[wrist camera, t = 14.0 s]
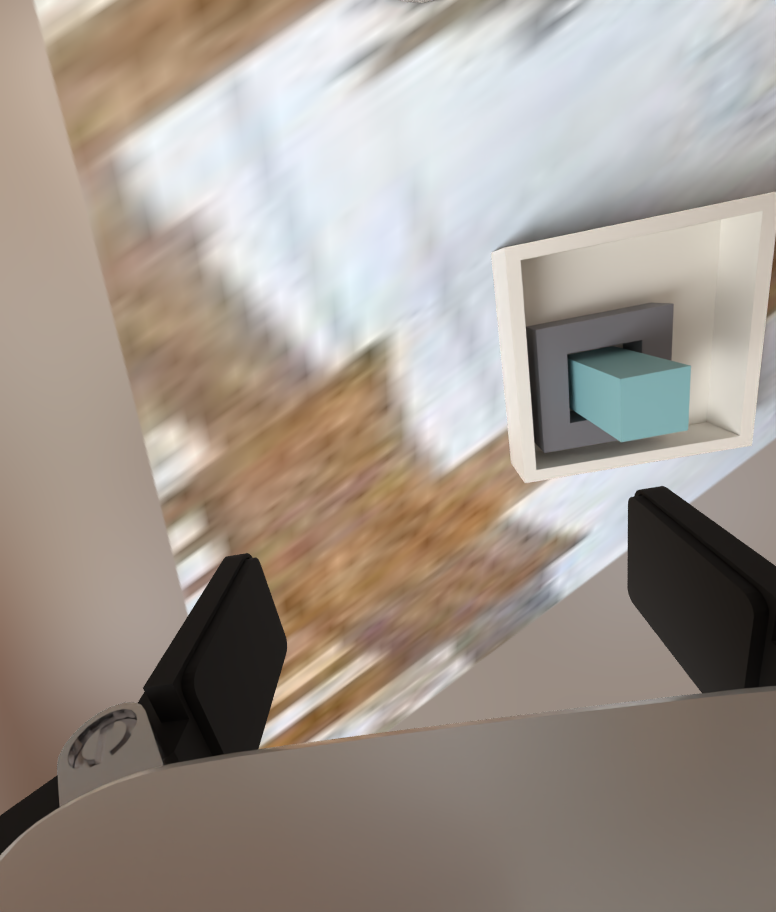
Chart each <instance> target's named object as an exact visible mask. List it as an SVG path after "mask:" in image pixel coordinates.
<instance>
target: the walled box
mask: <svg viewBox="0 0 776 912" xmlns="http://www.w3.org/2000/svg"><path fill="white" fill-rule="evenodd" d="M775 236H776V191H775V192H770V193H766V194H761V195H756V196H751V197H746V198H741V199H737V200H732V201H727V202H722V203H717V204H712V205H708V206H703V207H698V208H693V209H688V210H683V211H679V212H674V213H669V214H664V215H659V216H654V217H650V218H645V219H640V220H635V221H630V222H625V223H621V224H616V225H611V226H606V227H601V228H596V229H592V230H587V231H582V232H577V233H572V234H567V235H563V236H558V237H553V238H548V239H543V240H538V241H534V242H529V243H524V244H519V245H514V246H509V247H505V248H502V249H499V250H497V251H494V252H491V260H492V270H493V281H494V291H495V301H496V312H497V322H498V332H499V343H500V353H501V363H502V374H503V384H504V394H505V405H506V415H507V425H508V436H509V446H510V456H511V464H512V465H513V466H514V468H515V469H516V471H517V472H518V474H519V475H520V477H521V478H522V479H523V481H524V482H525V483H529V482H535V481H541V480H547V479H553V478H559V477H565V476H571V475H577V474H583V473H589V472H595V471H601V470H607V469H613V468H619V467H625V466H631V465H637V464H643V463H649V462H655V461H661V460H667V459H673V458H679V457H685V456H691V455H698V454H704V453H710V452H716V451H722V450H728V449H734V448H740V447H746V446H752V439H753V431H754V422H755V413H756V404H757V395H758V386H759V377H760V369H761V360H762V351H763V342H764V333H765V324H766V315H767V307H768V298H769V289H770V280H771V271H772V262H773V253H774V245H775ZM611 346H615V347H619V348H623V349H627V350H631V351H635V352H639V353H643V354H647V355H651V356H655V357H659V358H663V359H667V360H671V361H675V362H679V363H682V364H686V365H690V366H691V379H690V401H689V423H688V430H687V431H681V432H676V433H670V434H665V435H659V436H653V437H648V438H642V439H637V440H631V441H626V442H620V441H619V440H617V439H616V438H614V437H613V436H611V435H610V434H608V433H607V432H605V431H604V430H602V429H601V428H599V427H598V426H596V425H595V424H593V423H592V422H590V421H589V420H587V419H586V418H584V417H583V416H581V415H580V414H578V413H577V412H575V411H574V410H572V409H571V408H569V386H568V363H567V355H570V354H575V353H580V352H585V351H590V350H595V349H600V348H606V347H611Z"/></svg>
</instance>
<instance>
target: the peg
mask: <svg viewBox="0 0 776 912" xmlns="http://www.w3.org/2000/svg"><path fill="white" fill-rule="evenodd" d="M567 363H568V386H569V408H571V409H572V410H574V411H575V412H577V413H578V414H580V415H581V416H583V417H584V418H586V419H587V420H589V421H590V422H592V423H593V424H595V425H596V426H598V427H599V428H601V429H602V430H604V431H605V432H607V433H608V434H610V435H611V436H613V437H614V438H616V439H617V440H619V441H620V442H626V441H631V440H637V439H642V438H648V437H653V436H659V435H665V434H670V433H676V432H681V431H687V430H688V423H689V401H690V379H691V366H690V365H686V364H682V363H679V362H675V361H671V360H667V359H663V358H659V357H655V356H651V355H647V354H643V353H639V352H635V351H631V350H627V349H623V348H619V347H615V346H611V347H606V348H600V349H595V350H590V351H585V352H580V353H575V354H570V355H567Z"/></svg>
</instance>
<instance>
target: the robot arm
mask: <svg viewBox="0 0 776 912" xmlns="http://www.w3.org/2000/svg"><path fill="white" fill-rule="evenodd" d="M400 1H404V2H419V3H423V2H428V1H434V0H400ZM628 593H629V596H630V599H631V601H632V602H633V604H634V605H635V607H636V608H637V609H638V610H639V612H640V613H641V614H642V616H643V617H644V618H645V620H646V621H647V622H648V623H649V625H650V626H651V627H652V629H653V630H654V631H655V633H656V634H657V635H658V636H659V638H660V639H661V640H662V642H663V643H664V644H665V646H666V647H667V648H668V649H669V651H670V652H671V653H672V655H673V656H674V657H675V659H676V660H677V661H678V662H679V664H680V665H681V666H682V668H683V669H684V670H685V672H686V673H687V674H688V675H689V677H690V678H691V679H692V681H693V682H694V683H695V684H696V686H697V687H698V688H699V690H700V691H701V692H702V694H692V695H682V696H673V697H665V698H657V699H649V700H640V701H632V702H624V703H615V704H607V705H599V706H591V707H583V708H574V709H565V710H557V711H549V712H541V713H533V714H525V715H517V716H510V717H501V718H493V719H485V720H478V721H470V722H462V723H455V724H446V725H439V726H431V727H423V728H414V729H407V730H399V731H392V732H384V733H376V734H369V735H361V736H354V737H346V738H339V739H331V740H324V741H316V742H308V743H301V744H293V745H286V746H279V747H272V748H265V749H258V748H259V745H260V742H261V738H262V735H263V731H264V728H265V724H266V721H267V718H268V714H269V711H270V707H271V704H272V700H273V697H274V694H275V690H276V687H277V683H278V680H279V676H280V673H281V670H282V666H283V663H284V659H285V656H286V652H287V640H286V636H285V633H284V630H283V627H282V625H281V622H280V619H279V616H278V613H277V610H276V607H275V604H274V602H273V599H272V596H271V593H270V590H269V587H268V584H267V581H266V579H265V576H264V573H263V570H262V567H261V564H260V562H259V560H258V558H252V556H251V555H250V554H248V553H246V554H240V555H233V556H228V557H225V558H224V559H223V561H222V563H221V564H220V566H219V567H218V569H217V571H216V572H215V574H214V575H213V577H212V579H211V580H210V582H209V583H208V585H207V587H206V588H205V590H204V591H203V593H202V595H201V596H200V598H199V599H198V601H197V603H196V604H195V606H194V607H193V609H192V611H191V612H190V614H189V615H188V617H187V619H186V620H185V622H184V624H183V625H182V627H181V628H180V630H179V631H178V633H177V634H176V636H175V638H174V639H173V641H172V643H171V644H170V646H169V647H168V649H167V650H166V652H165V654H164V655H163V657H162V658H161V660H160V662H159V663H158V665H157V667H156V668H155V670H154V671H153V673H152V675H151V676H150V678H149V679H148V681H147V682H146V684H145V686H144V687H143V689H144V691H145V692H144V694H143V695H142V697H141V698H140V700H139V702H138V703H135V702H127V703H121V704H118V705H115V706H112V707H109V708H108V709H106V710H104V711H102V712H100V713H98V714H97V715H95V716H94V717H92V718H91V719H90V720H88V721H87V722H85V723H84V724H83V725H82V726H81V727H80V728H79V729H78V730H77V731H76V732H75V733H74V734H73V735H72V736H71V738H70V739H69V740H68V741H67V743H66V744H65V746H64V747H63V749H62V751H61V753H60V755H59V758H58V764H57V776H56V777H54V778H53V779H52V780H50V781H49V782H47V783H46V784H44V785H43V786H42V787H40V788H39V789H37V790H36V791H34V792H33V793H32V794H30V795H29V796H27V797H26V798H25V799H23V800H22V801H21V802H19V803H17V804H16V805H15V806H13V807H12V808H10V809H9V810H8V811H6V812H5V813H3V814H2V815H1V816H0V912H776V566H775V565H773V564H772V563H771V562H769V561H768V560H766V559H765V558H764V557H762V556H761V555H760V554H758V553H757V552H755V551H754V550H753V549H751V548H750V547H748V546H747V545H745V544H744V543H743V542H741V541H740V540H739V539H737V538H736V537H734V536H733V535H732V534H730V533H729V532H727V531H726V530H725V529H723V528H722V527H721V526H719V525H718V524H716V523H715V522H714V521H712V520H711V519H709V518H708V517H707V516H705V515H704V514H703V513H701V512H699V511H698V510H697V509H696V508H694V507H693V506H691V505H690V504H689V503H687V502H686V501H684V500H683V499H682V498H680V497H679V496H678V495H676V494H675V493H673V492H672V491H671V490H669V489H668V488H666V487H664V486H660V487H654V488H648V489H641V490H638V491H636V493H635V496H634V497H631V498H629V501H628Z"/></svg>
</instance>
